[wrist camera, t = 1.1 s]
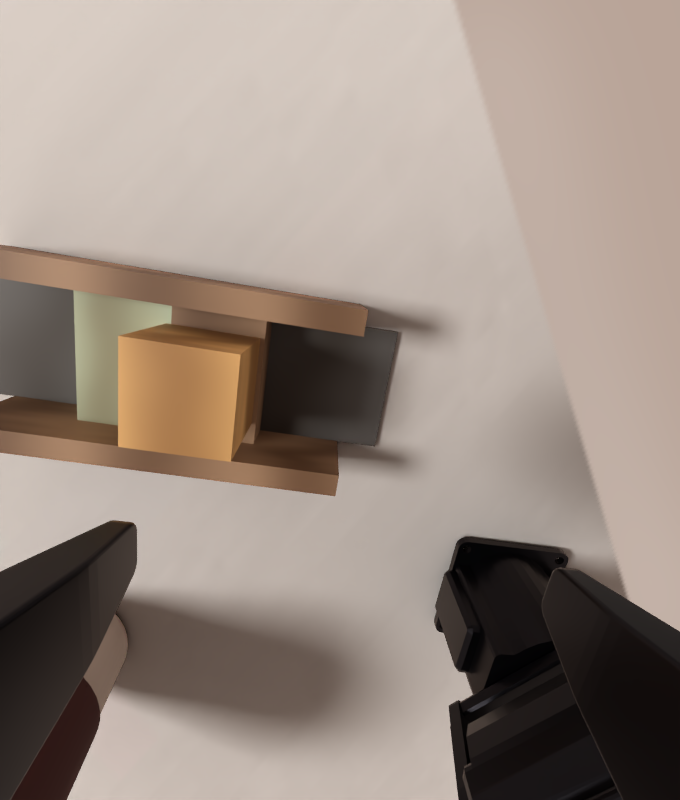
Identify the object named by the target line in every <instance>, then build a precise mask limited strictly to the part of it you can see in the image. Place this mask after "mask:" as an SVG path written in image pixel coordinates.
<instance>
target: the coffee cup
mask: <svg viewBox="0 0 680 800" xmlns="http://www.w3.org/2000/svg"><path fill="white" fill-rule="evenodd" d="M127 650H128V638H127V634H126V630H125V628H124V626H123V624H122V622H121V620H120V619H119V617H118V616H117V615H116V614H115V615H114V617H113V619H112V622H111V624H110V626H109V628H108V630H107V632H106V634H105V636H104V639H103V641H102V643H101V645H100V647H99V649H98V651H97V653H96V655H95V657H94V659H93V661H92V663H91V664H90V666H89V668H88V670H87V672H86V673H85V675H84V677H83V679H82V680H81V682H80V684H79V685H78V687H77V689H76V690H75V692H74V694H73V695H72V697H71V699H70V700H69V702H68V704H67V706H66V707H65V709H64V711H63V712H62V714H61V716H60V717H59V719H58V721H57V722H56V724H55V726H54V727H53V729H52V731H51V732H50V734H49V736H48V738H47V739H46V741H45V743H44V744H43V746H42V748H41V749H40V751H39V753H38V754H37V756H36V758H35V759H34V761H33V763H32V764H31V766H30V768H29V770H28V771H27V773H26V775H25V776H24V778H23V780H22V781H21V783H20V785H19V786H18V788H17V790H16V791H15V793H14V795H13V797H12V798H11V800H67V798H68V795H69V793H70V791H71V789H72V787H73V784H74V782H75V780H76V778H77V775H78V773H79V771H80V769H81V766H82V764H83V762H84V760H85V757H86V755H87V753H88V751H89V748H90V746H91V744H92V742H93V739H94V737H95V735H96V732H97V730H98V726H99V722H100V714H101V711H102V709H103V707H104V705H105V703H106V701H107V698H108V696H109V694H110V692H111V690H112V687H113V685H114V683H115V681H116V679H117V676H118V674H119V672H120V670H121V668H122V666H123V663H124V661H125V658H126V655H127Z"/></svg>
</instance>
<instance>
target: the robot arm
mask: <svg viewBox="0 0 680 800" xmlns="http://www.w3.org/2000/svg"><path fill="white" fill-rule="evenodd" d="M465 546H468V548H466V549H463V547H465ZM558 557H559V559H557V560H556V558H558ZM567 562H568V557H567V556H566V554H565V553H564V552H563V551H562V550H560V549H554V548H546V547H538V546H530V545H522V544H514V543H506V542H499V541H491V540H483V539H475V538H461V539H460V540H458V542H457V543H456V546H455V550H454V553H453V557H452V560H451V564H450V567H449V570H448V571H447V572H446V573H445V574H444V577H443V581H442V584H441V588H440V591H439V595H438V598H437V602H436V605H435V607H436V610H437V612H436V616H435V619H434V623H435V626H436V629H437V630H438V631H439V632H443V633H444V635H445V638H446V641H447V644H448V647H449V650H450V653H451V656H452V660H453V663H454V666H455V667H456V669H457V670H458V671H459V672H465V673H466V676H467V679H468V682H469V685H470V687H471V690H472V693H473V695H472V696H470V697H468V698H467V699H465V700H463V701H461V702H460V701H459V700H458V701H456V702H454V703H453V704H451V705H449V713H450V722H451V726H450V728H451V736H452V745H453V754H454V763H455V772H456V781H457V790H458V798H459V800H680V632H679V631H678V630H676V629H674V628H673V627H671V626H670V625H668V624H666V623H665V622H663V621H661V620H660V619H658V618H657V617H655V616H653V615H651V614H650V613H648V612H646V611H645V610H643V609H642V608H640V607H639V606H637V605H635V604H634V603H632V602H630V601H629V600H627V599H625V598H624V597H622V596H621V595H619V594H617V593H616V592H614V591H612V590H611V589H609V588H608V587H606V586H604V585H603V584H601V583H599V582H598V581H596V580H594V579H593V578H591V577H590V576H588V575H586V574H585V573H583V572H581V571H579V570H576V569H569V568H566V565H567ZM136 565H137V528H136V525H135V524H134V523H132V522H124V521H109V522H107V523H105V524H102V525H100V526H98V527H96V528H94V529H92V530H89V531H87V532H85V533H83V534H81V535H79V536H76V537H74V538H72V539H70V540H68V541H66V542H63V543H61V544H59V545H57V546H55V547H53V548H50V549H48V550H46V551H44V552H42V553H40V554H37V555H35V556H33V557H31V558H29V559H27V560H24V561H22V562H20V563H18V564H16V565H14V566H11V567H9V568H7V569H5V570H3V571H1V572H0V800H11V798H12V797H13V795H14V793H15V791H16V790H17V788H18V786H19V785H20V783H21V781H22V780H23V778H24V776H25V775H26V773H27V771H28V770H29V768H30V766H31V764H32V763H33V761H34V759H35V758H36V756H37V754H38V753H39V751H40V749H41V748H42V746H43V744H44V743H45V741H46V739H47V738H48V736H49V734H50V732H51V731H52V729H53V727H54V726H55V724H56V722H57V721H58V719H59V717H60V716H61V714H62V712H63V711H64V709H65V707H66V706H67V704H68V702H69V700H70V699H71V697H72V695H73V694H74V692H75V690H76V689H77V687H78V685H79V684H80V682H81V680H82V679H83V677H84V675H85V673H86V672H87V670H88V668H89V666H90V664H91V663H92V661H93V659H94V657H95V655H96V653H97V651H98V649H99V647H100V645H101V643H102V641H103V639H104V636H105V634H106V632H107V630H108V628H109V626H110V624H111V622H112V619H113V617H114V615H115V613H116V611H117V609H118V607H119V605H120V602H121V600H122V598H123V596H124V594H125V592H126V590H127V588H128V585H129V583H130V581H131V579H132V577H133V575H134V572H135V569H136Z"/></svg>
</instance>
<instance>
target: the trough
mask: <svg viewBox="0 0 680 800" xmlns="http://www.w3.org/2000/svg"><path fill="white" fill-rule="evenodd" d="M367 315H368V310H367V309H366V308H364V307H363V306H362V305H360V304H355V303H349V302H343V301H337V300H331V299H325V298H319V297H313V296H307V295H301V294H295V293H289V292H283V291H277V290H271V289H265V288H259V287H253V286H247V285H241V284H235V283H229V282H223V281H217V280H211V279H205V278H199V277H193V276H187V275H181V274H175V273H169V272H163V271H157V270H150V269H144V268H138V267H132V266H126V265H120V264H114V263H108V262H102V261H96V260H90V259H84V258H78V257H72V256H66V255H60V254H54V253H48V252H42V251H36V250H30V249H24V248H18V247H12V246H5V245H0V394H5V395H12V396H14V397H11V398H9V399H6V400H3V401H0V453H8V454H15V455H23V456H31V457H38V458H46V459H54V460H61V461H69V462H77V463H84V464H92V465H100V466H107V467H115V468H123V469H130V470H138V471H146V472H154V473H161V474H169V475H177V476H184V477H192V478H200V479H207V480H215V481H223V482H230V483H238V484H246V485H253V486H261V487H269V488H277V489H284V490H292V491H300V492H307V493H315V494H323V495H330V496H335V494H336V488H337V483H338V477H339V470H338V450H337V441H340V442H348V443H355V444H362V445H369V446H375V443H376V438H377V433H378V428H379V423H380V418H381V413H382V408H383V403H384V398H385V393H386V388H387V383H388V379H389V374H390V369H391V364H392V359H393V354H394V349H395V344H396V339H397V334H398V332H394V331H388V330H382V329H376V328H370V327H365V326H366V321H367ZM165 323H168V324H174V325H181V326H187V327H193V328H200V329H206V330H213V331H219V332H225V333H232V334H238V335H244V336H251V337H257V338H260V347H259V356H258V366H257V375H256V385H255V395H254V404H253V414H252V423H251V426H250V427H249V429H248V431H247V433H246V435H245V437H244V438H243V440H242V442H241V444H240V446H239V448H238V450H237V451H236V453H235V455H234V457H233V459H232V461H231V462H227V461H220V460H213V459H205V458H198V457H190V456H183V455H175V454H168V453H160V452H153V451H145V450H138V449H130V448H123V447H118V336H120V335H123V334H127V333H131V332H135V331H139V330H142V329H146V328H150V327H154V326H158V325H162V324H165Z"/></svg>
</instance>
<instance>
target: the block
mask: <svg viewBox="0 0 680 800" xmlns="http://www.w3.org/2000/svg"><path fill="white" fill-rule="evenodd" d="M259 347H260V338H257V337H251V336H244V335H238V334H232V333H225V332H219V331H213V330H206V329H200V328H193V327H187V326H181V325H174V324H168V323H165V324H162V325H158V326H154V327H150V328H146V329H142V330H139V331H135V332H131V333H127V334H123V335H120V336H118V447H123V448H130V449H138V450H145V451H153V452H160V453H168V454H175V455H183V456H190V457H198V458H205V459H213V460H220V461H227V462H231V461H232V459H233V457H234V455H235V453H236V451H237V450H238V448H239V446H240V444H241V442H242V440H243V438H244V437H245V435H246V433H247V431H248V429H249V427H250V426H251V423H252V414H253V404H254V395H255V385H256V375H257V366H258V356H259Z"/></svg>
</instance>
